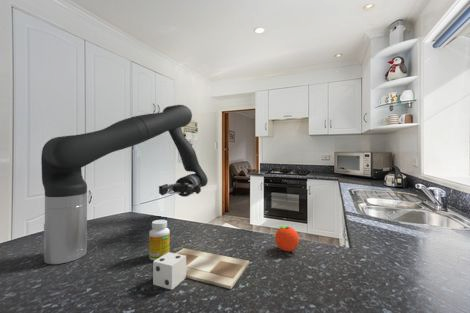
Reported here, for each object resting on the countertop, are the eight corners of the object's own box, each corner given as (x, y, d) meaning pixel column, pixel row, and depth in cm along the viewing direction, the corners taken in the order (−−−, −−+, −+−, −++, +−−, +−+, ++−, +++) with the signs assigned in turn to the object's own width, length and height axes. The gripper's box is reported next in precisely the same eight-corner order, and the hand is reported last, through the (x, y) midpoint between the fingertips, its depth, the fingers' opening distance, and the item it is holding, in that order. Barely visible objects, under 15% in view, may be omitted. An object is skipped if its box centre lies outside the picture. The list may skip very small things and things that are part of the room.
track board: (154, 269, 53) (154, 266, 53) (183, 250, 65) (183, 247, 65) (231, 289, 46) (231, 285, 46) (249, 263, 57) (249, 260, 57)
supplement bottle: (163, 262, 57) (163, 225, 57) (144, 260, 58) (145, 223, 58) (173, 253, 62) (173, 219, 63) (156, 251, 64) (156, 218, 64)
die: (152, 284, 47) (153, 261, 47) (168, 273, 52) (168, 251, 52) (171, 290, 45) (171, 265, 45) (186, 277, 50) (186, 255, 50)
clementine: (268, 251, 64) (268, 226, 64) (276, 243, 70) (276, 221, 70) (294, 257, 60) (295, 231, 60) (301, 248, 66) (301, 225, 66)
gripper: (169, 176, 88) (153, 180, 72) (204, 176, 87) (195, 180, 71) (169, 194, 88) (153, 203, 72) (204, 194, 87) (195, 203, 71)
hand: (174, 192), depth 71 cm, fingers open, 8 cm apart
